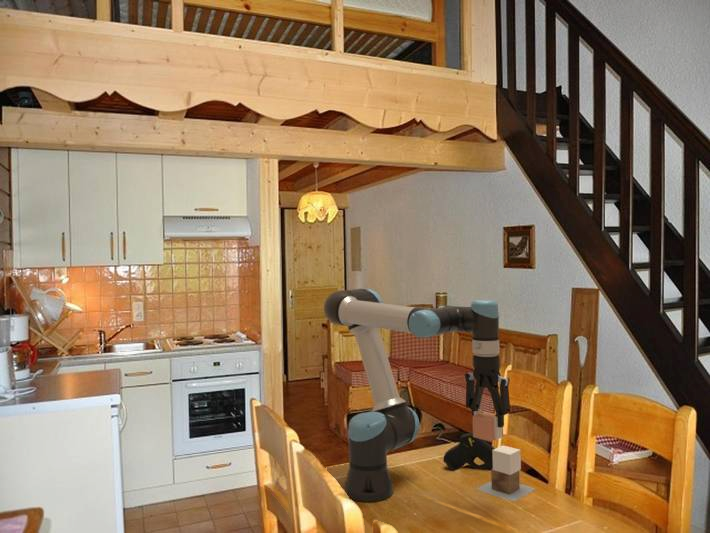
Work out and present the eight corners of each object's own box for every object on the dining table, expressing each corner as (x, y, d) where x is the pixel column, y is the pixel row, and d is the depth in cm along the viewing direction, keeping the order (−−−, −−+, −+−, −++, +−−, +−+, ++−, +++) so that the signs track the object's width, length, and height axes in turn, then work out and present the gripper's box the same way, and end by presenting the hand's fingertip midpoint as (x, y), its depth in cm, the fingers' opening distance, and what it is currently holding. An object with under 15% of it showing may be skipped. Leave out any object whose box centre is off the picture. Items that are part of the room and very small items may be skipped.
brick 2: (491, 489, 168) (491, 469, 168) (502, 483, 172) (501, 464, 172) (509, 494, 163) (508, 474, 163) (519, 488, 167) (519, 468, 167)
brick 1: (473, 436, 157) (472, 415, 157) (485, 432, 161) (485, 411, 161) (490, 441, 152) (490, 419, 152) (503, 436, 156) (502, 415, 156)
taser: (441, 457, 191) (466, 424, 189) (484, 491, 187) (510, 458, 184) (439, 462, 187) (465, 428, 185) (483, 496, 183) (510, 462, 180)
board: (475, 493, 168) (475, 489, 168) (498, 480, 177) (498, 477, 177) (513, 506, 158) (513, 501, 158) (536, 492, 167) (536, 488, 167)
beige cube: (492, 469, 167) (492, 450, 167) (503, 464, 171) (502, 445, 171) (510, 475, 163) (510, 454, 163) (520, 469, 167) (520, 449, 167)
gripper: (451, 352, 161) (453, 431, 161) (507, 359, 147) (510, 446, 147) (466, 349, 166) (468, 426, 166) (523, 356, 152) (525, 439, 152)
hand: (488, 435), depth 157 cm, fingers closed on brick 1, 6 cm apart
